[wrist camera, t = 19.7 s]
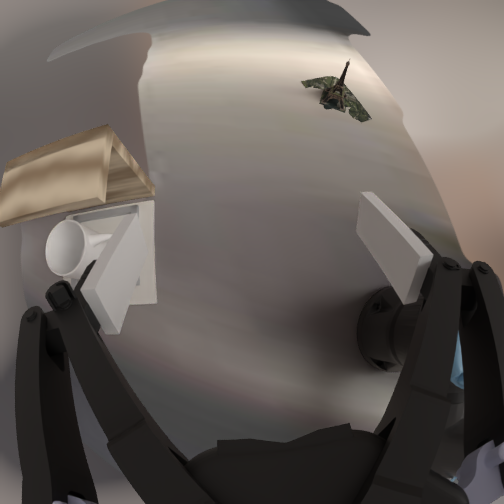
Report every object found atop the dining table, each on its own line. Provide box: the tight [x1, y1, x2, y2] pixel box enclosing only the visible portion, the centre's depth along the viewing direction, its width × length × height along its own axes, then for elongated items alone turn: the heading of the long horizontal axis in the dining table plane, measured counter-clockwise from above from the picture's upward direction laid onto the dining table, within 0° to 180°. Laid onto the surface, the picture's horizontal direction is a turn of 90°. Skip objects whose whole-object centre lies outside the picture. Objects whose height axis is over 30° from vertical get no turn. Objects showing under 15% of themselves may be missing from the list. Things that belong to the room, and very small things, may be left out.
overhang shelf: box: [0, 124, 155, 227], centre depth 37 cm, size 10×20×20 cm, turn 96°
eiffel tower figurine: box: [302, 59, 372, 123], centre depth 46 cm, size 15×10×13 cm
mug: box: [45, 219, 113, 279], centre depth 40 cm, size 9×12×11 cm
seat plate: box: [63, 200, 157, 305], centre depth 45 cm, size 18×20×2 cm
